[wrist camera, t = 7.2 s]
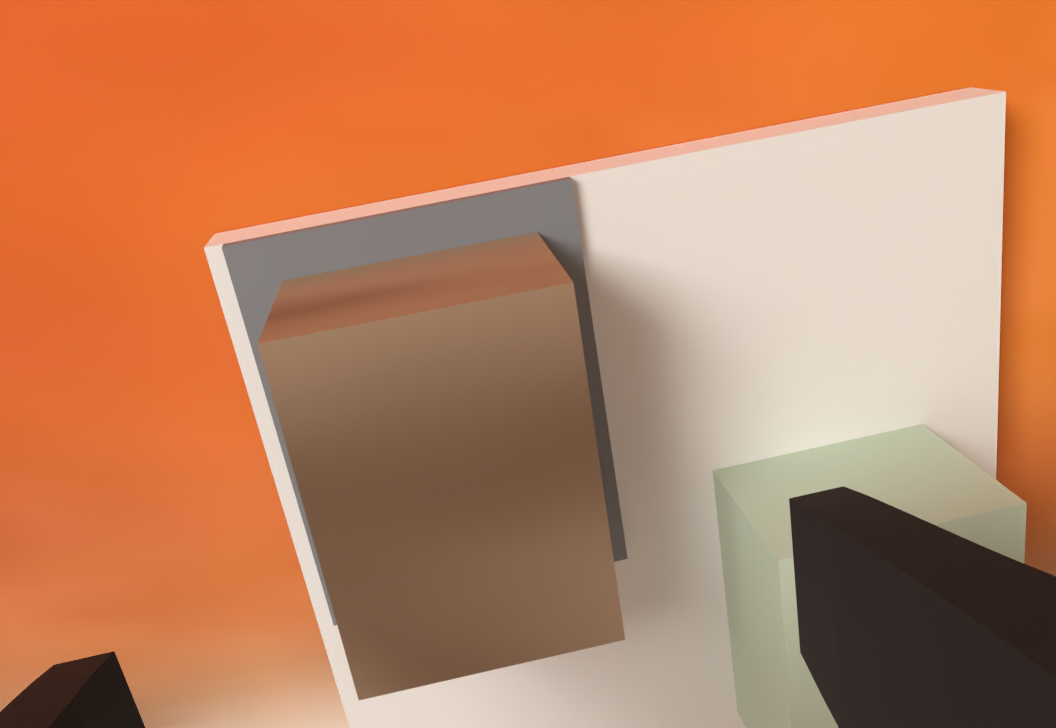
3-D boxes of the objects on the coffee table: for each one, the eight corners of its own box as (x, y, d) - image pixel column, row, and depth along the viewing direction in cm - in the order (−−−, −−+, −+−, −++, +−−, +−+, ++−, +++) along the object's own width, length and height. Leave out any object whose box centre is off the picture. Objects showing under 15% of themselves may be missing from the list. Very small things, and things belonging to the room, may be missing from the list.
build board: (961, 844, 23) (991, 886, 21) (437, 980, 22) (439, 1032, 20) (970, 87, 16) (1014, 92, 15) (214, 233, 15) (200, 251, 14)
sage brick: (923, 666, 19) (1015, 776, 16) (737, 711, 19) (799, 832, 16) (921, 423, 17) (1026, 502, 14) (712, 470, 17) (777, 560, 14)
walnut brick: (584, 535, 17) (624, 640, 14) (363, 583, 16) (358, 701, 13) (536, 231, 14) (573, 281, 12) (282, 280, 14) (257, 343, 11)
